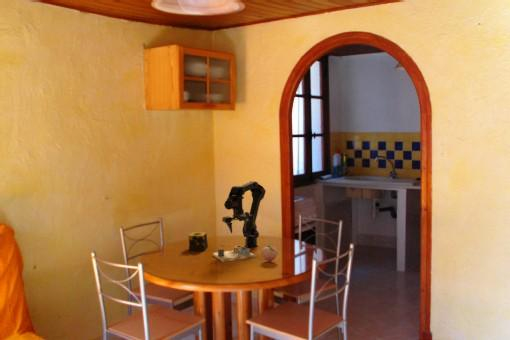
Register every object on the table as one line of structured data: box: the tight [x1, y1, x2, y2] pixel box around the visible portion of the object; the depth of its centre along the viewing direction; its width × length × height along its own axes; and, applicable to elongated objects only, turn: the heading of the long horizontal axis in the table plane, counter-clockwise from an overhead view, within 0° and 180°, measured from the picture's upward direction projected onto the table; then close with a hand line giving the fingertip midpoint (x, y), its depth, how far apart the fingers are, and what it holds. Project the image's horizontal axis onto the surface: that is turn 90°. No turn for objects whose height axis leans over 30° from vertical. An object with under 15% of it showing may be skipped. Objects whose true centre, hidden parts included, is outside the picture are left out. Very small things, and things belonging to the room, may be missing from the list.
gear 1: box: [232, 244, 246, 253], centre depth 295 cm, size 7×7×3 cm
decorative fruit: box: [261, 244, 279, 263], centre depth 276 cm, size 9×8×10 cm
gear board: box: [212, 244, 256, 263], centre depth 289 cm, size 20×16×5 cm
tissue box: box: [188, 231, 209, 252], centre depth 308 cm, size 10×10×10 cm
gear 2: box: [238, 247, 251, 256], centre depth 288 cm, size 7×7×3 cm
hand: (238, 232), depth 300 cm, fingers open, 9 cm apart
